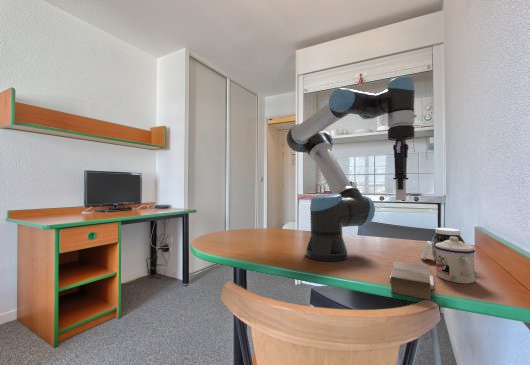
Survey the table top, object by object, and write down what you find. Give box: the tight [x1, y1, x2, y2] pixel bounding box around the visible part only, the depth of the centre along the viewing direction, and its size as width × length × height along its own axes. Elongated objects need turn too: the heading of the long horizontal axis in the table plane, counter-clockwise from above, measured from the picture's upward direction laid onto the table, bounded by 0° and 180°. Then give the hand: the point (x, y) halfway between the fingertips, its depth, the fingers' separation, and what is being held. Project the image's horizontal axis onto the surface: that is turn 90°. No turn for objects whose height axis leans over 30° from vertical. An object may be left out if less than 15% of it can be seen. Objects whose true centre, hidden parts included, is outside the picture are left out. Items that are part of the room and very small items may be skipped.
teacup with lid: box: [435, 237, 476, 285], centre depth 68 cm, size 12×9×12 cm
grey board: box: [389, 272, 435, 290], centre depth 68 cm, size 10×8×1 cm
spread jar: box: [420, 227, 466, 263], centre depth 84 cm, size 12×11×12 cm
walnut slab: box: [390, 260, 432, 301], centre depth 62 cm, size 4×8×10 cm
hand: (400, 199), depth 78 cm, fingers closed
